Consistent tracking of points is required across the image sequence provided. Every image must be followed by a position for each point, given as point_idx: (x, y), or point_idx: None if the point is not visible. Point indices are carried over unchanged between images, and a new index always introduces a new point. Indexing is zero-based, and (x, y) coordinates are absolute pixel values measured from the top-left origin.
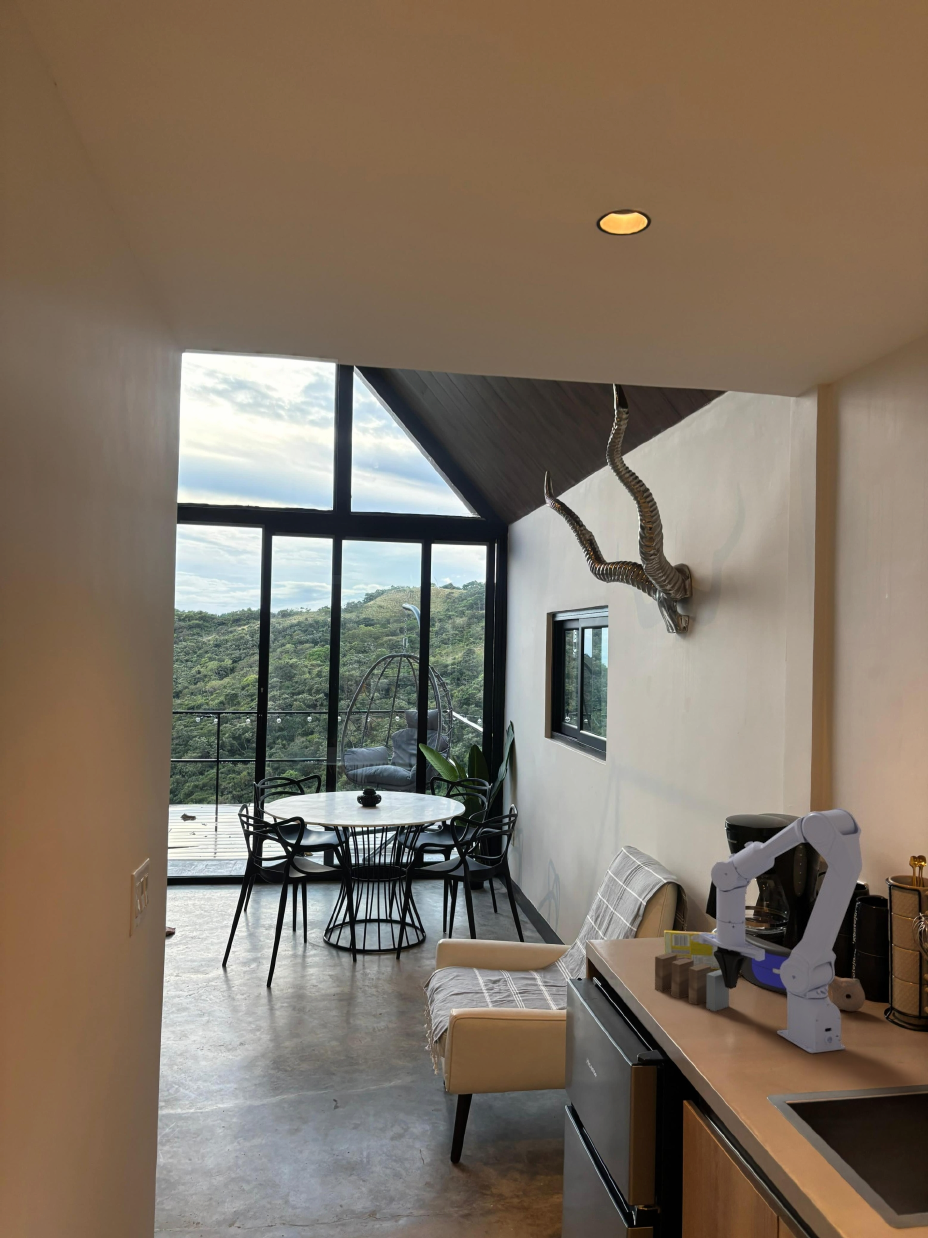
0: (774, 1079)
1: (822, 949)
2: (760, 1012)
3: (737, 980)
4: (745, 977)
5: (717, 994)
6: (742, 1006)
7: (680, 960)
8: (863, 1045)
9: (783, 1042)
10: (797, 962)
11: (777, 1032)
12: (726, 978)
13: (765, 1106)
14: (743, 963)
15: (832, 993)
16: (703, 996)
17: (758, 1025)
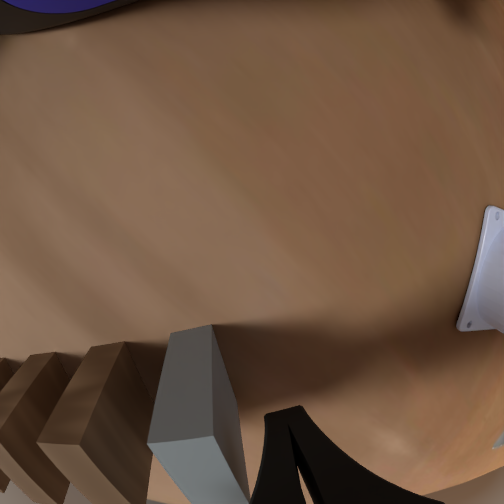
0: (493, 426)
1: None
2: (321, 241)
3: (316, 425)
4: (7, 33)
5: (238, 433)
6: (232, 266)
7: (6, 472)
8: None
9: (476, 340)
10: None
11: (459, 330)
12: (300, 485)
13: (494, 454)
14: (396, 490)
15: None
16: (138, 397)
17: (395, 337)
